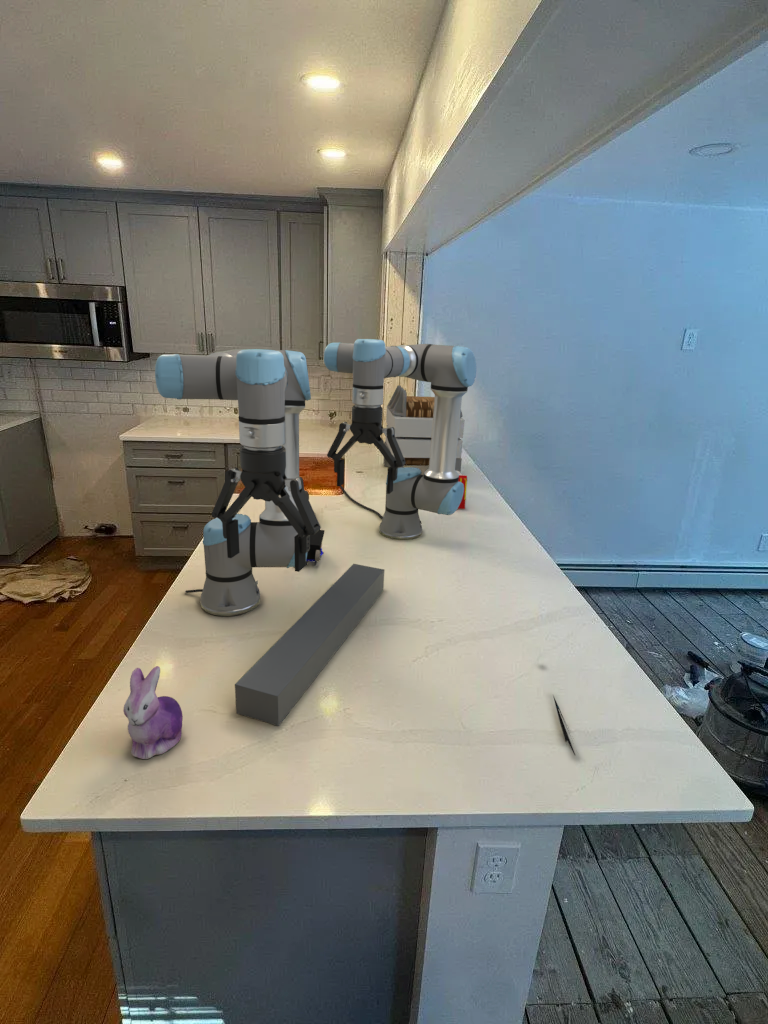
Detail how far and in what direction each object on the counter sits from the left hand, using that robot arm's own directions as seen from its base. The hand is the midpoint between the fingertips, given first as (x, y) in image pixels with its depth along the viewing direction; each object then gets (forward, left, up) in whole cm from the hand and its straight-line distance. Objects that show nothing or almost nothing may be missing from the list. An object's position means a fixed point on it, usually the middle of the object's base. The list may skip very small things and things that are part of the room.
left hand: (266, 561), depth 102 cm
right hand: (-15, +46, 0) cm, 49 cm away
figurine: (-7, -20, -31) cm, 38 cm away
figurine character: (-42, +55, -31) cm, 75 cm away
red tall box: (-42, +138, -31) cm, 147 cm away
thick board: (-8, +23, -31) cm, 40 cm away
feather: (+44, +36, -31) cm, 65 cm away
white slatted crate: (-73, +161, -31) cm, 180 cm away
